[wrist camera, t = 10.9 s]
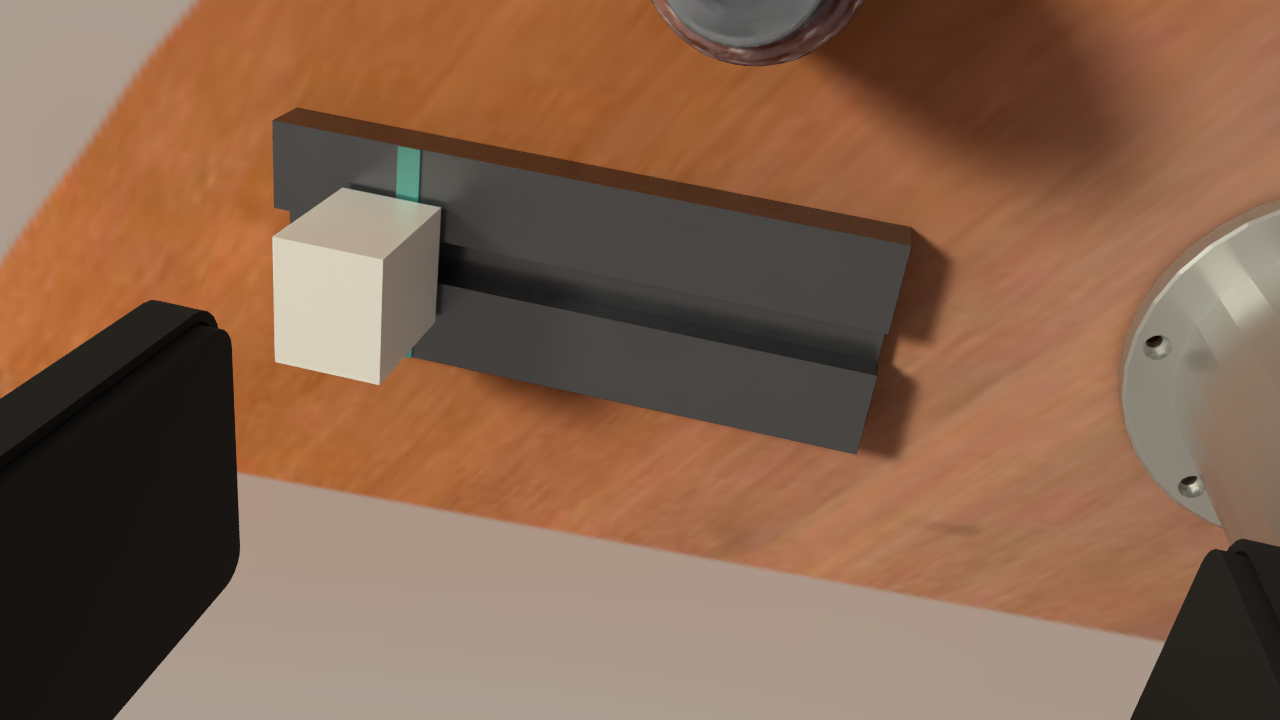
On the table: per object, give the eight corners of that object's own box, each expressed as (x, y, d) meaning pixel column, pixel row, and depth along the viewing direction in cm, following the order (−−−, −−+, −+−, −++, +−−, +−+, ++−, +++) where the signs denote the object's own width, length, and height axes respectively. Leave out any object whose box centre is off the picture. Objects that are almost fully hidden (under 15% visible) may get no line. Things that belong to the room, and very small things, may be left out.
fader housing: (910, 227, 38) (911, 246, 36) (857, 429, 42) (856, 455, 40) (296, 107, 41) (271, 121, 39) (298, 308, 44) (275, 328, 43)
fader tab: (453, 196, 40) (382, 259, 34) (446, 308, 42) (379, 385, 36) (357, 177, 40) (272, 236, 35) (355, 289, 42) (275, 361, 37)
